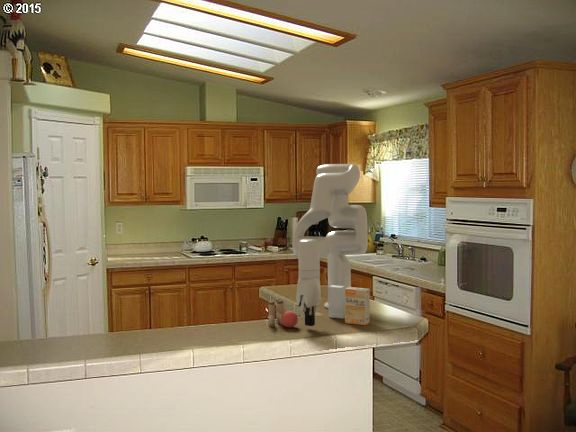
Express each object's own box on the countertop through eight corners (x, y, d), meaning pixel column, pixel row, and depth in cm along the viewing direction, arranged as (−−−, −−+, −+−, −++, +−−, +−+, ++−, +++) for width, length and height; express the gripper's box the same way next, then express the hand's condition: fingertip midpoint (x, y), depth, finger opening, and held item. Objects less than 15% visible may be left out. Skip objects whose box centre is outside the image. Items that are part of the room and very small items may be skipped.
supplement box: (344, 323, 220) (344, 288, 219) (349, 320, 224) (349, 286, 223) (365, 326, 216) (365, 290, 215) (370, 323, 220) (370, 287, 219)
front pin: (282, 324, 220) (279, 300, 220) (287, 324, 219) (284, 300, 219) (279, 325, 218) (275, 301, 218) (284, 325, 217) (280, 301, 217)
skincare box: (347, 316, 230) (346, 285, 230) (342, 319, 226) (342, 287, 226) (332, 315, 233) (332, 284, 233) (327, 317, 229) (327, 286, 229)
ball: (298, 308, 217) (300, 325, 217) (283, 309, 219) (285, 325, 219) (294, 312, 211) (295, 329, 211) (278, 313, 213) (279, 329, 213)
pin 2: (278, 321, 224) (278, 298, 223) (283, 322, 222) (283, 299, 222) (275, 323, 222) (274, 299, 221) (280, 323, 221) (279, 300, 220)
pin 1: (271, 324, 220) (270, 301, 219) (276, 325, 218) (275, 301, 218) (267, 326, 218) (267, 302, 217) (272, 326, 216) (272, 302, 216)
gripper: (310, 270, 219) (311, 319, 220) (288, 276, 207) (289, 328, 208) (328, 271, 215) (329, 322, 216) (307, 278, 203) (308, 331, 204)
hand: (309, 325), depth 212 cm, fingers closed
